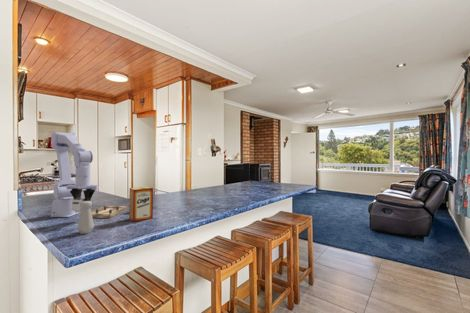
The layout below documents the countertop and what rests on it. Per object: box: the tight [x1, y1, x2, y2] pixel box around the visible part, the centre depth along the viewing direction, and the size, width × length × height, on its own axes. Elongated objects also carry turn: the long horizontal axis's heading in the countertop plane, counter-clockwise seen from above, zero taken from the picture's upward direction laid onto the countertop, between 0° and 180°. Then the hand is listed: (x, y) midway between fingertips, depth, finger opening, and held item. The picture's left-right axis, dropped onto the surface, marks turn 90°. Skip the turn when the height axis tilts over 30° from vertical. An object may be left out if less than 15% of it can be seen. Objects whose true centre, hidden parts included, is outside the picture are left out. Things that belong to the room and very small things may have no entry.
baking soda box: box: [128, 186, 154, 223], centre depth 114 cm, size 10×6×16 cm
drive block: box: [71, 195, 94, 212], centre depth 107 cm, size 4×9×5 cm, turn 179°
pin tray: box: [91, 205, 128, 219], centre depth 122 cm, size 13×17×3 cm
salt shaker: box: [77, 201, 95, 235], centre depth 93 cm, size 6×6×13 cm
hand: (82, 204), depth 107 cm, fingers closed on drive block, 4 cm apart
